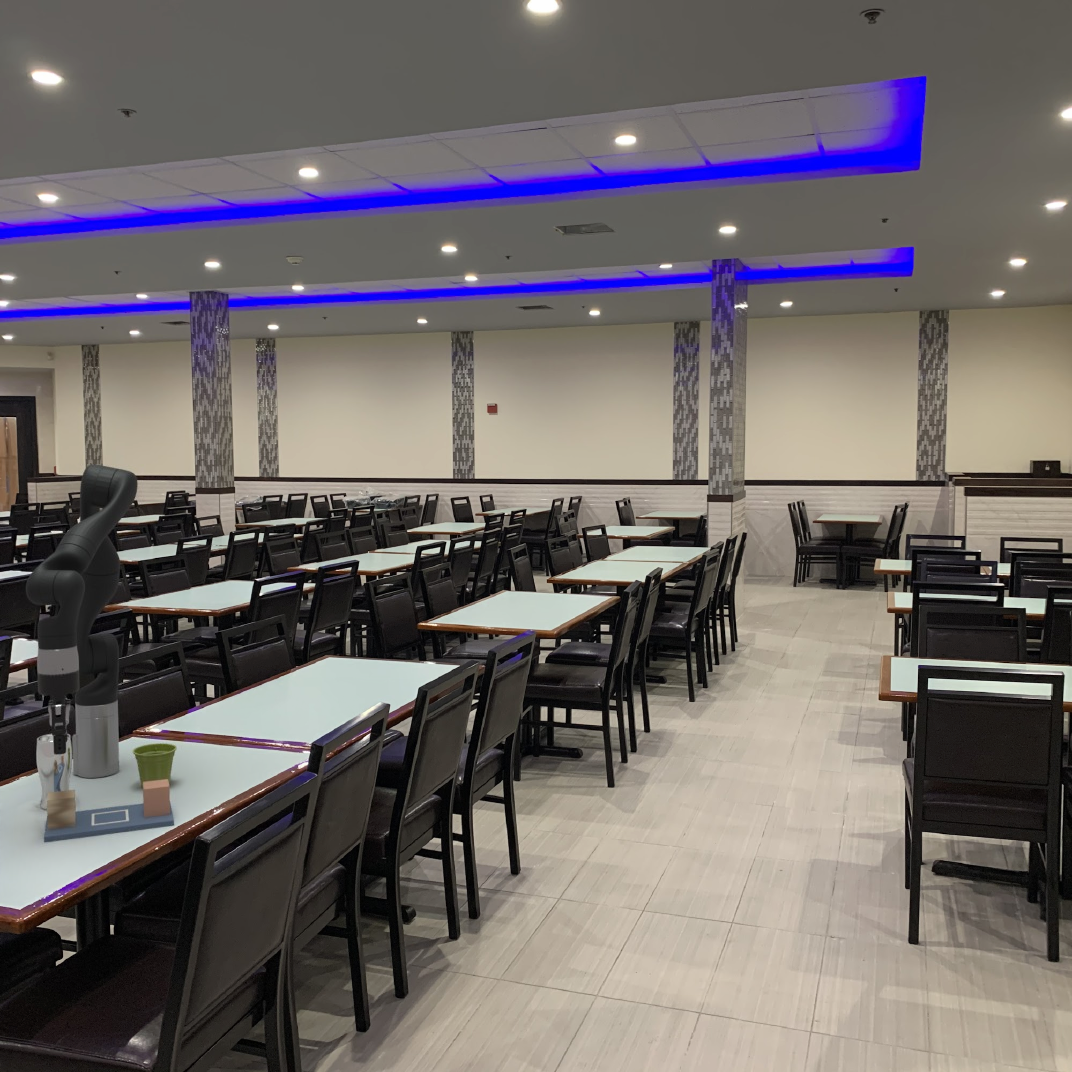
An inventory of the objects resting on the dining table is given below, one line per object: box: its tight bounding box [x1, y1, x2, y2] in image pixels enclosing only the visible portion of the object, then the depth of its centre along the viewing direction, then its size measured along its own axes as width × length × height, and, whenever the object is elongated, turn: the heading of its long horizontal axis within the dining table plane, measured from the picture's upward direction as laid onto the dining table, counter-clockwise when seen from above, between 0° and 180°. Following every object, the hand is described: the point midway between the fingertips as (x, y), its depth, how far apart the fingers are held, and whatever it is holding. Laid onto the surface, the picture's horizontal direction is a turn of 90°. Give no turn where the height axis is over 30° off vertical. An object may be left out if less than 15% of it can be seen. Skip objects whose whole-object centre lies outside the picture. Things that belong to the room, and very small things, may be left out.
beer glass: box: [36, 733, 73, 811], centre depth 215 cm, size 7×7×15 cm
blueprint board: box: [43, 802, 175, 843], centre depth 206 cm, size 24×13×1 cm, turn 114°
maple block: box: [46, 789, 77, 830], centre depth 202 cm, size 5×5×6 cm
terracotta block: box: [142, 779, 171, 817], centre depth 209 cm, size 5×5×6 cm
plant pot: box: [132, 742, 178, 788], centre depth 228 cm, size 9×9×9 cm
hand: (60, 748), depth 201 cm, fingers open, 8 cm apart
